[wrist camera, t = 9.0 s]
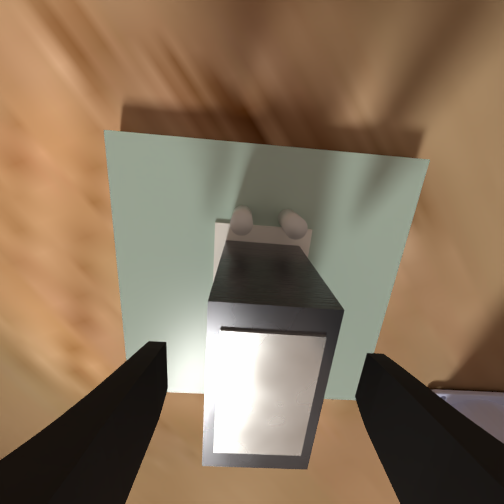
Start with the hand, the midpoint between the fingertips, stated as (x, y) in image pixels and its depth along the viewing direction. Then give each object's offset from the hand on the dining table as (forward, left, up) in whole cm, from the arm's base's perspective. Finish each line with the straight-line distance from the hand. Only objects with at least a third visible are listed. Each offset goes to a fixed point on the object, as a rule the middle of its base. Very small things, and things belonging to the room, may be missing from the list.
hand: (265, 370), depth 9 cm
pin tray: (0, 0, -7) cm, 7 cm away
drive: (0, 0, -6) cm, 6 cm away
